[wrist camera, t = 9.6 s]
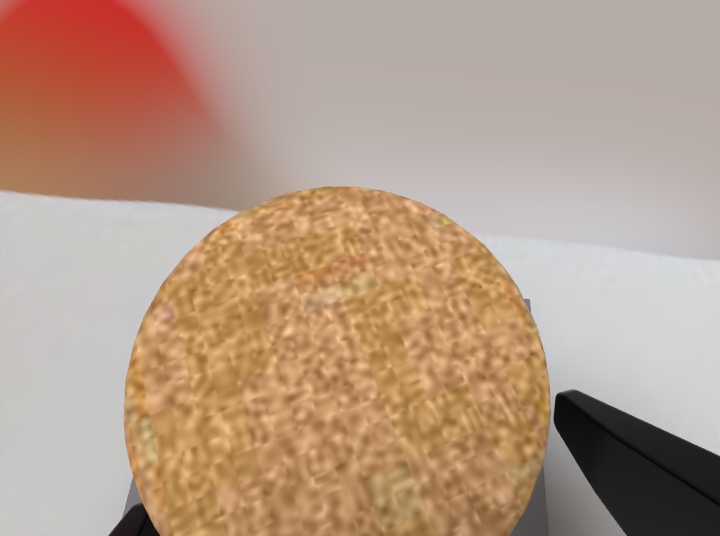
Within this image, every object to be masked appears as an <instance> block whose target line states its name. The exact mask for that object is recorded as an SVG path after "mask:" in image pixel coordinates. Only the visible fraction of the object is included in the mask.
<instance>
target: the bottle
mask: <svg viewBox="0 0 720 536" xmlns="http://www.w3.org/2000/svg"><path fill="white" fill-rule="evenodd" d="M550 416H551V408H550V387H549V378H548V371H547V364H546V358H545V353H544V350H543V346H542V343H541V339H540V336H539V332H538V329H537V326H536V324H535V321H534V319H533V317H532V315H531V313H530V311H529V309H528V307H527V305H526V303H525V301H524V299H523V297H522V295H521V293H520V291H519V289H518V287H517V285H516V284H515V283H514V281H513V280H512V278H511V277H510V275H509V274H508V273H507V271H506V270H505V268H504V267H503V266H502V265H501V264H500V263H499V261H498V260H497V259H496V258H495V257H494V256H493V254H492V253H491V252H490V251H489V250H488V249H487V248H486V246H485V245H484V244H482V243H481V242H480V241H479V240H478V239H476V238H475V237H474V236H473V235H471V234H470V233H469V232H467V231H466V230H465V229H463V228H462V227H460V226H459V225H458V224H456V223H455V222H454V221H452V220H451V219H449V218H448V217H447V216H445V215H444V214H442V213H440V212H438V211H436V210H434V209H432V208H430V207H428V206H426V205H424V204H422V203H419V202H416V201H414V200H411V199H408V198H405V197H402V196H398V195H395V194H392V193H388V192H385V191H381V190H374V189H367V188H359V187H322V188H316V189H310V190H304V191H297V192H291V193H287V194H284V195H282V196H279V197H276V198H273V199H271V200H268V201H265V202H263V203H260V204H258V205H256V206H253V207H251V208H249V209H247V210H244V211H242V212H240V213H238V214H237V215H235V216H234V217H232V218H230V219H229V220H227V221H226V222H224V223H223V224H221V225H220V226H218V227H216V228H215V229H213V230H212V231H211V232H210V233H209V234H208V235H207V236H206V237H205V238H203V239H202V240H201V241H200V242H199V243H198V244H197V245H196V246H195V247H194V248H193V249H192V250H191V251H189V252H188V253H187V254H186V255H185V256H184V258H183V259H182V260H181V261H180V263H179V264H178V265H177V266H176V268H175V269H174V270H173V271H172V272H171V274H170V275H169V276H168V277H167V279H166V280H165V281H164V282H163V284H162V286H161V287H160V289H159V291H158V293H157V294H156V296H155V298H154V300H153V301H152V303H151V305H150V307H149V309H148V310H147V312H146V314H145V316H144V318H143V321H142V323H141V326H140V329H139V331H138V334H137V337H136V339H135V342H134V346H133V351H132V355H131V359H130V364H129V368H128V372H127V377H126V386H125V404H124V429H125V441H126V446H127V451H128V456H129V461H130V466H131V470H132V473H133V476H134V479H135V482H136V486H137V489H138V492H139V495H140V498H141V501H142V503H143V505H144V507H145V509H146V511H147V513H148V515H149V517H150V519H151V521H152V523H153V525H154V527H155V528H156V530H157V531H158V533H159V534H160V536H509V535H510V534H511V532H512V530H513V529H514V527H515V526H516V524H517V522H518V521H519V519H520V518H521V516H522V514H523V513H524V511H525V510H526V508H527V506H528V504H529V501H530V499H531V496H532V493H533V490H534V488H535V485H536V482H537V480H538V477H539V474H540V471H541V468H542V464H543V461H544V457H545V453H546V449H547V441H548V433H549V425H550Z"/></svg>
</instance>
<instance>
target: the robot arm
mask: <svg viewBox="0 0 720 536" xmlns="http://www.w3.org/2000/svg"><path fill="white" fill-rule="evenodd" d="M554 424H555V427H556V429H557V431H558V432H559V434H560V436H561V437H562V439H563V441H564V442H565V444H566V446H567V447H568V449H569V451H570V452H571V454H572V456H573V457H574V459H575V460H576V462H577V464H578V465H579V467H580V469H581V470H582V472H583V474H584V475H585V477H586V479H587V480H588V482H589V483H590V485H591V487H592V488H593V490H594V491H595V493H596V494H597V496H598V497H599V498H600V500H601V501H602V503H603V504H604V505H605V507H606V508H607V509H608V511H609V512H610V514H611V515H612V516H613V518H614V519H615V520H616V522H617V523H618V524H619V526H620V527H621V528H622V530H623V531H624V532H625V534H626V535H627V536H720V456H719V455H716V454H714V453H712V452H710V451H708V450H706V449H703V448H701V447H699V446H697V445H695V444H693V443H690V442H688V441H686V440H684V439H682V438H680V437H677V436H675V435H673V434H671V433H669V432H667V431H664V430H662V429H660V428H658V427H656V426H653V425H651V424H649V423H647V422H645V421H643V420H640V419H638V418H636V417H634V416H632V415H630V414H627V413H625V412H623V411H621V410H619V409H617V408H614V407H612V406H610V405H608V404H606V403H604V402H601V401H599V400H597V399H595V398H593V397H591V396H588V395H586V394H584V393H582V392H580V391H577V390H567V391H564V392H560V393H558V394H557V395H556V398H555V408H554ZM109 536H160V534H159V533H158V531H157V530H156V528H155V527H154V525H153V523H152V521H151V519H150V517H149V515H148V513H147V511H146V509H145V507H144V505H143V503H142V502H140V503H137V504H135V505H133V506H132V507H131V508H130V509H129V511H128V512H127V513H126V514H125V516H124V517H123V518H122V519H121V521H120V522H119V523H118V524H117V526H116V527H115V528H114V529H113V531H112V532H111V533H110V534H109Z"/></svg>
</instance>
